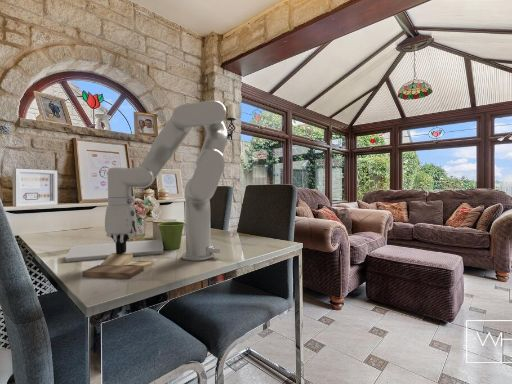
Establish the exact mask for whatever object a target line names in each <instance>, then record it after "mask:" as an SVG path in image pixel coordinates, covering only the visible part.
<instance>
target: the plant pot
mask: <svg viewBox="0 0 512 384" xmlns="http://www.w3.org/2000/svg"><path fill="white" fill-rule="evenodd" d="M185 225H186V222H183V221H164V222H160V223H157V226H158V228H159V231H160V236H161V240H162V241H163V250H169V251H171V250H177V249H180V248H181V242H182V237H183V230H184V227H185Z"/></svg>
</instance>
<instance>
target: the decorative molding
mask: <svg viewBox="0 0 512 384" xmlns="http://www.w3.org/2000/svg"><path fill="white" fill-rule="evenodd" d="M111 253H116V243H115V242H105V243H94V244H93V243H91V244H90V243H89V244H77V245H75V244H74V245H71V248H70V249H69V251H68V252H67V254H66V256H65V257H64V258H65V259H64V260H65V263H69V262H82V261H93V260H104V259H105V260H106V259H107V258H108V257H109V256H110V255H111ZM125 253H132V256H133V257H137V256H138V257H140V256H151V255H163V254H164V248H163V241H162V239H152V240H151V239H150V240H149V239H148V240H136V241H127V242H126V252H125Z"/></svg>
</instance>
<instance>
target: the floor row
mask: <svg viewBox="0 0 512 384" xmlns="http://www.w3.org/2000/svg"><path fill="white" fill-rule="evenodd" d="M144 271H145V270H142V267H136V266H109V265H100V264H97V265H94V266H93V267H90V268H88V269H85V270H83V271H82V277H84V278H105V279H106V278H107V279H132V278H133V277H135V276H137V275H140V274H141V273H143V272H144Z"/></svg>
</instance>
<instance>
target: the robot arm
mask: <svg viewBox="0 0 512 384" xmlns="http://www.w3.org/2000/svg"><path fill="white" fill-rule="evenodd" d="M226 115H227V109H226V106H225V105H224V104H223V103H222V102H221V101H219V100H216V99H215V100H212V99H210V100H203V101H198V102H197V101H196V102H190V103H185V104H180V105H177V106H176V107H175V109H173V111H172V115H171V116H170V117H169V119H168V120H167V122H166V123H165V125H164V126H163V127H162V129H161V130H160V132H159V133H158V134H157V136H156V137H155V138H154V140H153V142H152V144H151V145H150V149H149V151H148V153H147V154H146V156H145V158H144V159H143V161H142V162H141V164H140V165H139V166H138V167H128V168H127V167H110V168H108V170H107V206H106V209H105V215H104V216H105V218H104V232H105V233H106V237H107V238H110V239H111V238H112V240H113V243H116V254H122V253H125V252H126V242H129V239H131V238H134V237H136V232H137V231H138V219H137V213H136V209H135V206H134V205H132V204H133V203H135V199H134V198H133V197H132V188H139V189H145V188H149V186H151V185H153V183H154V182H155V179H156V178H157V176H158V175H159V174H160V172H161V171H162V170H163V168H164V167H165V166H166V164H167V162H168V161H169V160H170V159H172V157H174V154H176V153H177V150H178V149H179V147H180V146H181V144H182V142H183V141H184V140H185V139H186V138H187V136H188V135H189V133H190V131H191V130H192V129H193V128H196V127H203V128H204V130H205V132H206V134H205V139H204V141H203V144H202V147H201V150H200V152H199V154H198V156H197V159H196V161H195V169H194V172H193V175H192V177H191V178H190V179H188V181H187V182H186V183H185V186H184V187H185V188H184V199H185V200H184V201H185V252H184V253H182V254H181V258H182V259H183V260H187V261H193V262H194V261H206V260H210V259H212V258H214V257H215V254H221V253H222V249H221V247H217V246H216V247H214V245H213V243H211V238H212V237H211V201H210V200H211V199H212V198H213V196H214V195H215V192H216V191H217V188H218V185H219V183H220V180H221V177H222V175H223V172H224V169H225V165H226V164H225V163H226V161H225V156H224V155H223V154H224V151H225V149H226V145H227V143H228V142H227V141H228V131H227V128H226V126H225V123H224V121H225V119H226ZM183 143H184V142H183Z"/></svg>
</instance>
